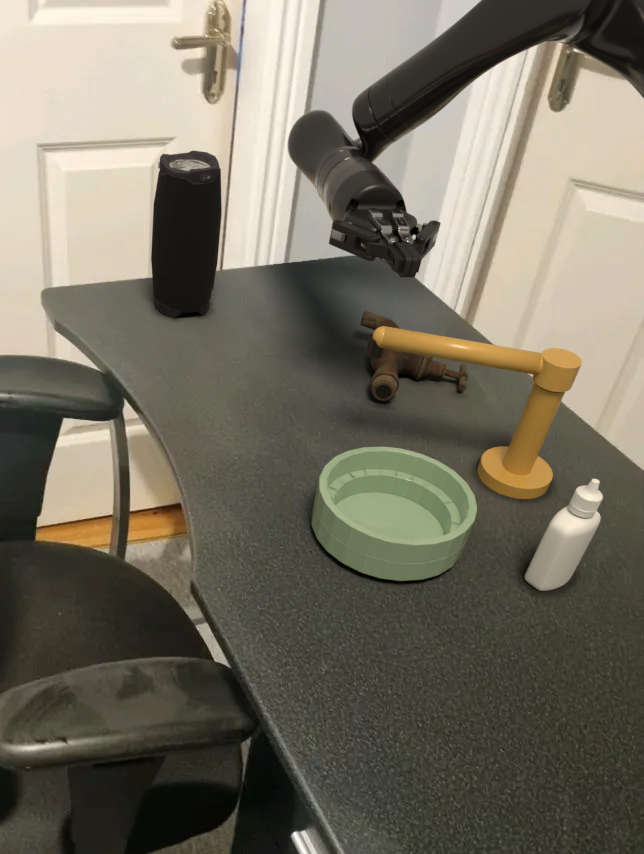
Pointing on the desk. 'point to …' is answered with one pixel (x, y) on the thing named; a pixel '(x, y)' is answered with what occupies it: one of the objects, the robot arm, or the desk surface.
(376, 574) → the basin
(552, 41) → the robot arm
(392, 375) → the faucet
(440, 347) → the spout
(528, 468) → the tap base
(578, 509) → the eye dropper bottle
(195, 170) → the portable speaker
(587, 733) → the desk surface
